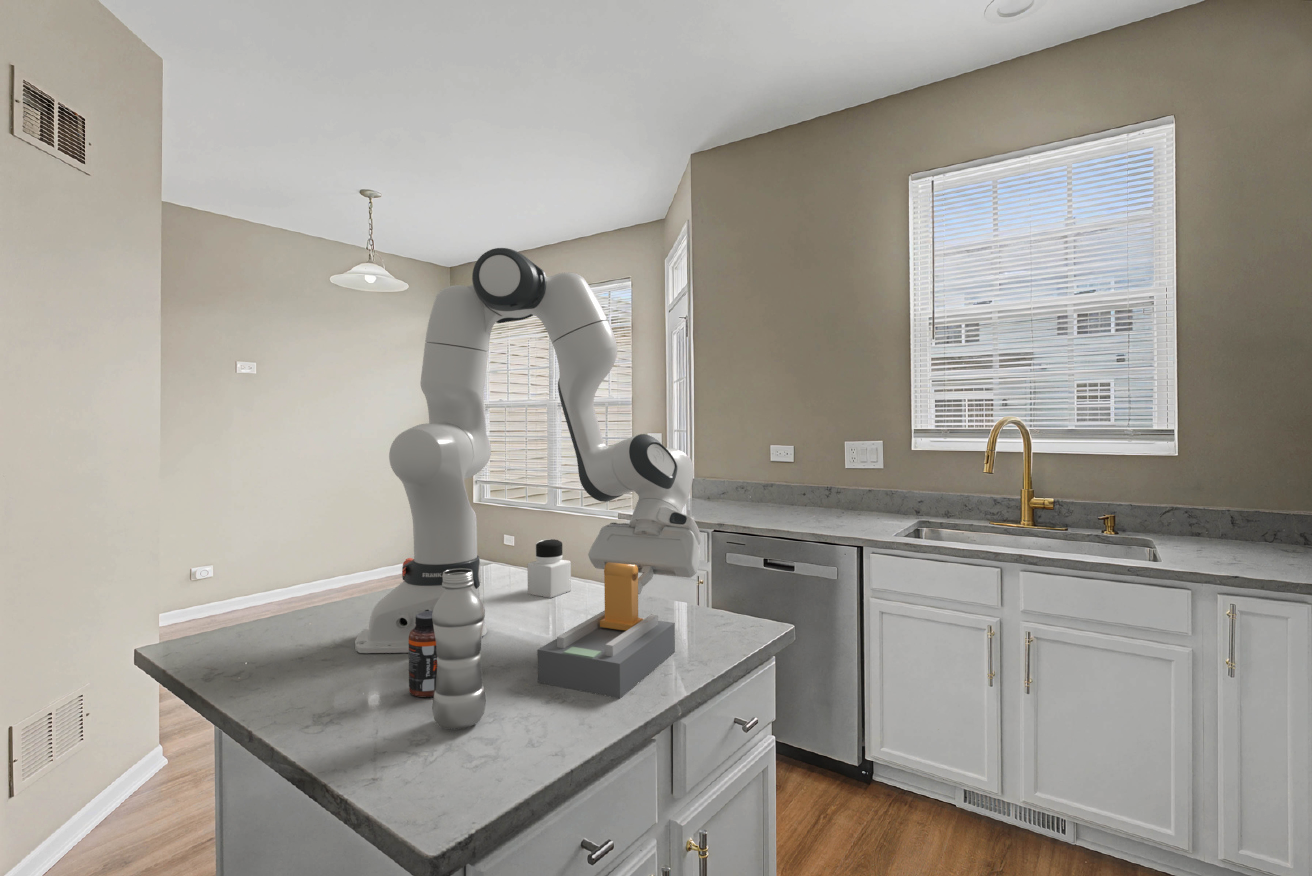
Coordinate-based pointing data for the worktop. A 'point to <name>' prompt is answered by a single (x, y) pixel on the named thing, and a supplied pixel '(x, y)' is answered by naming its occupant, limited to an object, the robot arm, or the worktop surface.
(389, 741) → the worktop surface
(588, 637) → the breaker box
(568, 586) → the medicine bottle
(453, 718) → the plastic bottle
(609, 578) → the handle
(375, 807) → the worktop surface
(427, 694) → the supplement bottle
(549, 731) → the worktop surface
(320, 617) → the worktop surface
